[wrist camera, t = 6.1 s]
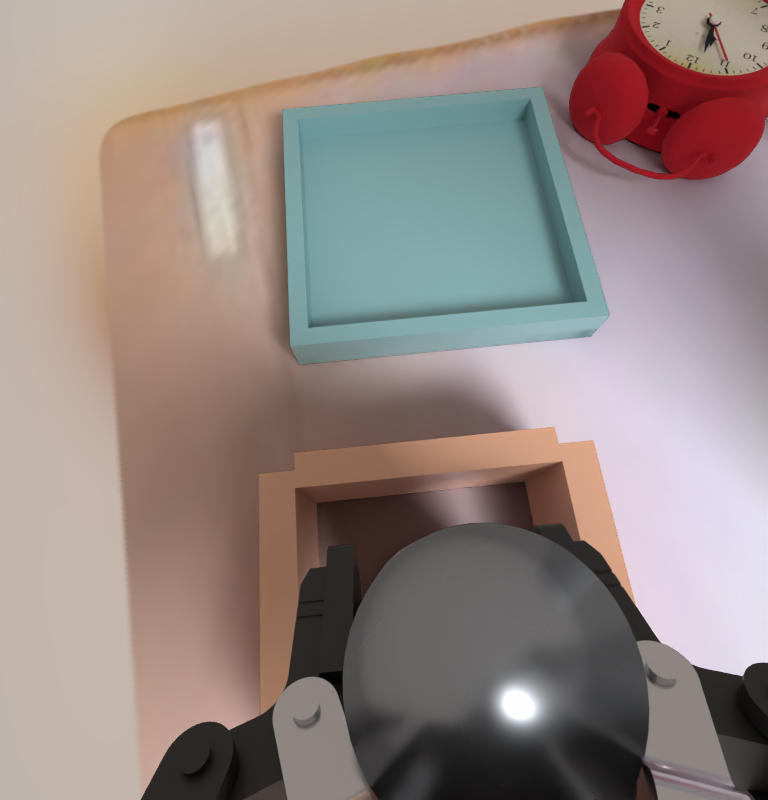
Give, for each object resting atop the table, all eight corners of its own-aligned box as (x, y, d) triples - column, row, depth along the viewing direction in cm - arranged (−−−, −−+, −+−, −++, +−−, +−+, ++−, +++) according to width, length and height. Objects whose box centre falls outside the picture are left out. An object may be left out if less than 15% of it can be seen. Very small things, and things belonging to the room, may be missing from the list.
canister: (485, 534, 19) (604, 509, 8) (508, 670, 17) (691, 854, 7) (365, 546, 19) (333, 537, 8) (376, 685, 17) (354, 893, 7)
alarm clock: (844, -13, 24) (838, 99, 17) (751, 110, 30) (717, 234, 22) (657, -69, 26) (581, 10, 19) (602, 56, 31) (526, 154, 24)
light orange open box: (546, 451, 20) (589, 423, 15) (615, 763, 16) (695, 839, 12) (287, 477, 20) (258, 456, 15) (296, 799, 16) (261, 889, 12)
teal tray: (531, 120, 26) (542, 86, 24) (591, 336, 22) (609, 315, 20) (290, 142, 26) (282, 109, 24) (299, 364, 21) (290, 346, 19)
